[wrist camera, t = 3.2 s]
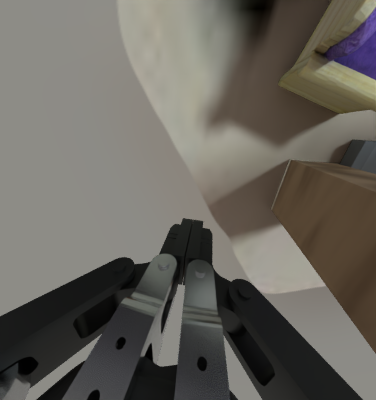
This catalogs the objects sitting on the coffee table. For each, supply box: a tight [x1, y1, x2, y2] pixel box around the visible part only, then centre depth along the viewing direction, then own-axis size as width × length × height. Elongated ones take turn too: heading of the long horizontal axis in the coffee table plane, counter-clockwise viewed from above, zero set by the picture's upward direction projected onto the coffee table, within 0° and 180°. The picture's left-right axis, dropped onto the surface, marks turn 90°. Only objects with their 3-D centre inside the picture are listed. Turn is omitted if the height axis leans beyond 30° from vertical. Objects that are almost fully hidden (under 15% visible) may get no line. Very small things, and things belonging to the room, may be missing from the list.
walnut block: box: [271, 159, 376, 353], centre depth 14 cm, size 6×8×18 cm
